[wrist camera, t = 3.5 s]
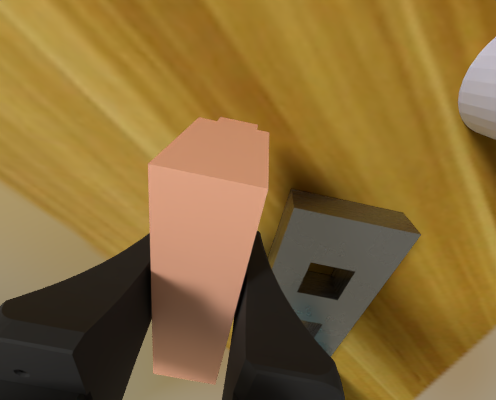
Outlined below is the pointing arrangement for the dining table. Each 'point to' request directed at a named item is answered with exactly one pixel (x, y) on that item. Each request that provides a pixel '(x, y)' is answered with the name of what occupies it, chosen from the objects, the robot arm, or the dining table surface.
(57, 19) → the dining table surface
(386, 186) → the dining table surface
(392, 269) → the rail
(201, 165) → the clip
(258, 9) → the dining table surface
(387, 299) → the dining table surface
